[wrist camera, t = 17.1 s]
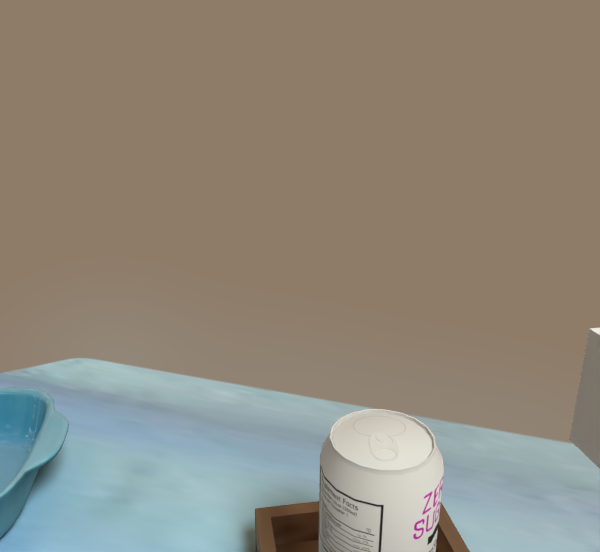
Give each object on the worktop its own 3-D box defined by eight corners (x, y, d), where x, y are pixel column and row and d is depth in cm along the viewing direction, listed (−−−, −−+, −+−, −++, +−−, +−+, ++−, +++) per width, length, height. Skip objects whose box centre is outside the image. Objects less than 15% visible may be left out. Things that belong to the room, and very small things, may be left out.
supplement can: (316, 565, 46) (318, 404, 41) (417, 565, 46) (431, 405, 41) (319, 660, 38) (322, 476, 34) (440, 661, 38) (460, 477, 34)
